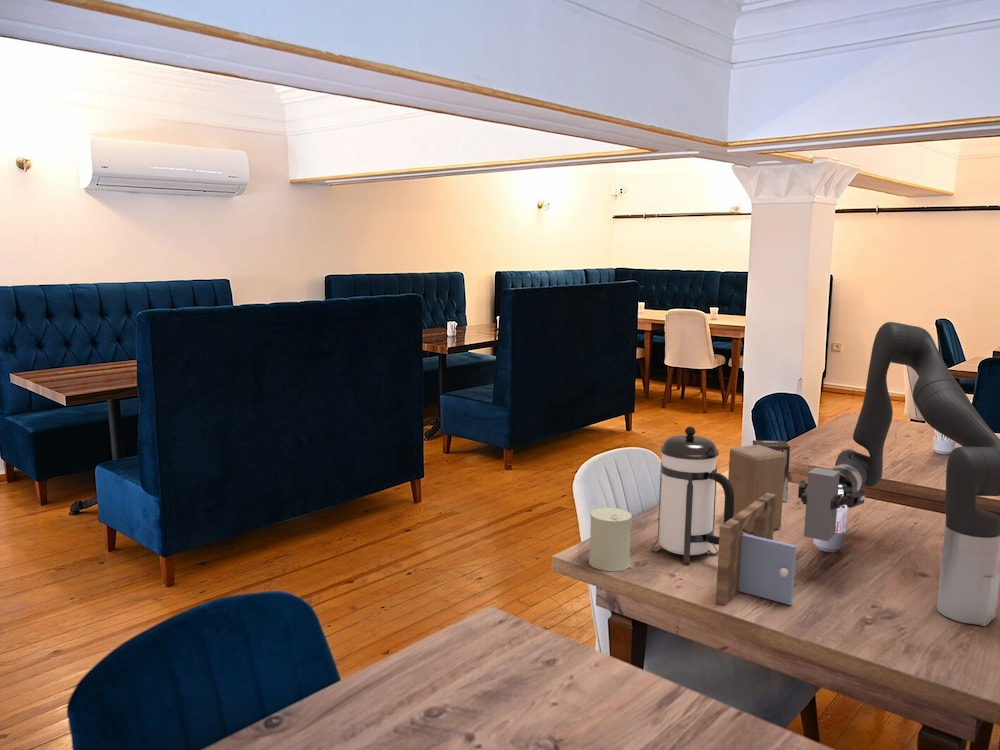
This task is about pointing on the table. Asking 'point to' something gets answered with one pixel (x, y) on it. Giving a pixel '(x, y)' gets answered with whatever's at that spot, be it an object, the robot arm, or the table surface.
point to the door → (767, 568)
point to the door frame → (732, 541)
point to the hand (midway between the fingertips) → (818, 502)
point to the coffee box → (785, 448)
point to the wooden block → (756, 478)
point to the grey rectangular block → (821, 504)
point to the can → (610, 539)
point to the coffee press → (690, 495)
